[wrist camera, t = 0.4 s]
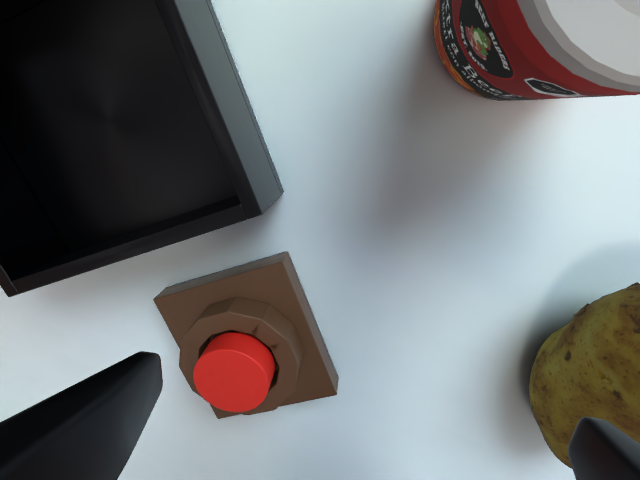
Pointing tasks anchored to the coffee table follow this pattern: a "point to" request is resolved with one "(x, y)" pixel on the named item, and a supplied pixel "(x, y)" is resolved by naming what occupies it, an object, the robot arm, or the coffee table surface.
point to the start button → (234, 372)
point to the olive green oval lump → (590, 371)
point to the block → (253, 327)
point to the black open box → (119, 135)
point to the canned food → (540, 47)
